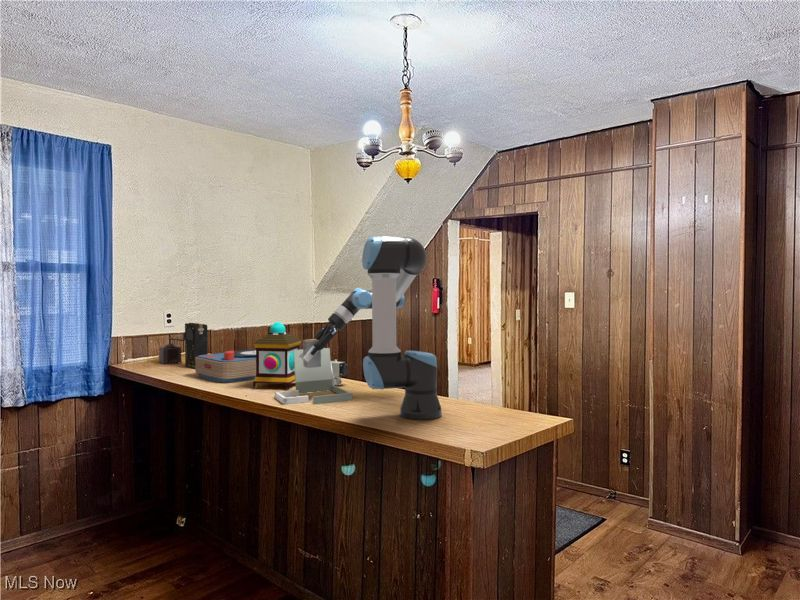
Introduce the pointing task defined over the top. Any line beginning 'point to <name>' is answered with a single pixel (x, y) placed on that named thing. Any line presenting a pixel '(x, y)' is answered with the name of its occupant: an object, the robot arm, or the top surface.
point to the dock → (290, 397)
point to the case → (318, 379)
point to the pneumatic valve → (339, 371)
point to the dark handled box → (170, 352)
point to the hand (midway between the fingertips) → (303, 359)
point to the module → (316, 358)
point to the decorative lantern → (276, 357)
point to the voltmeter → (195, 342)
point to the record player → (227, 366)
